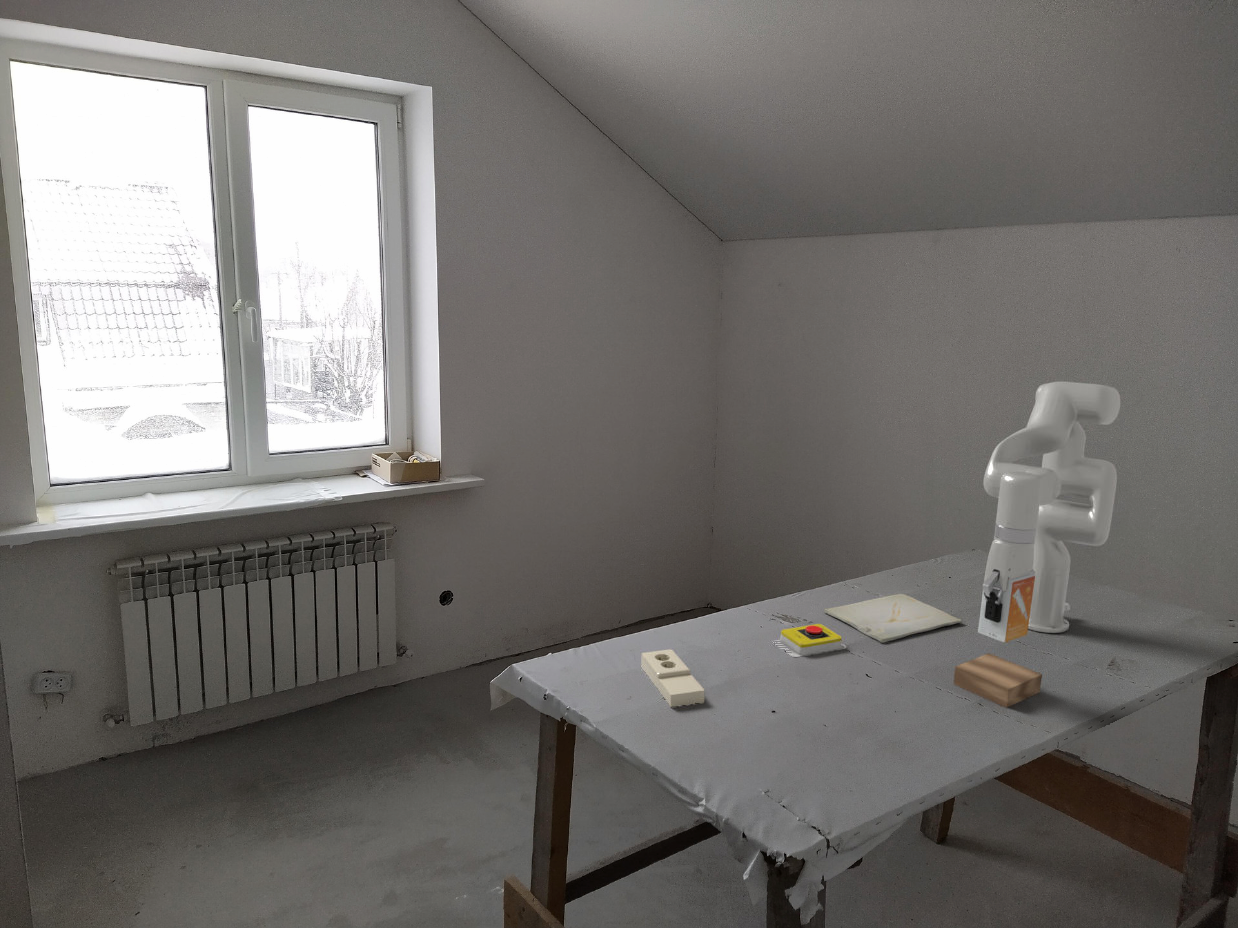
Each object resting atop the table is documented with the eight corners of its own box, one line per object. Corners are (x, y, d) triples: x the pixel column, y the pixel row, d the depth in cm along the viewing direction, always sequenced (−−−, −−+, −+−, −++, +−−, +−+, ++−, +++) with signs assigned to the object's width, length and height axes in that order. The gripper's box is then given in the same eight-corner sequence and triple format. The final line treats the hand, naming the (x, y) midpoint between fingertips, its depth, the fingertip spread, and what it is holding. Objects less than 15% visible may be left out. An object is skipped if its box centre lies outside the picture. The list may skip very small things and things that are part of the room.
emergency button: (849, 632, 197) (794, 641, 191) (848, 650, 198) (792, 660, 192) (825, 617, 205) (771, 626, 199) (824, 634, 206) (770, 643, 200)
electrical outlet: (670, 690, 168) (641, 652, 185) (670, 709, 169) (640, 669, 186) (704, 685, 170) (672, 648, 187) (704, 704, 171) (671, 665, 188)
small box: (1005, 643, 172) (1012, 582, 169) (976, 632, 177) (983, 572, 174) (1028, 635, 176) (1036, 574, 174) (1000, 624, 182) (1007, 565, 179)
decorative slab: (883, 647, 200) (884, 639, 199) (820, 615, 218) (821, 608, 217) (963, 625, 213) (964, 618, 212) (898, 597, 231) (898, 590, 230)
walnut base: (986, 669, 188) (988, 652, 187) (1039, 692, 178) (1042, 674, 177) (953, 683, 181) (955, 666, 180) (1006, 707, 171) (1008, 689, 170)
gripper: (1021, 523, 180) (1012, 601, 184) (972, 535, 170) (963, 618, 174) (1056, 532, 174) (1045, 613, 178) (1007, 545, 164) (997, 631, 168)
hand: (1004, 615), depth 176 cm, fingers closed on small box, 8 cm apart
